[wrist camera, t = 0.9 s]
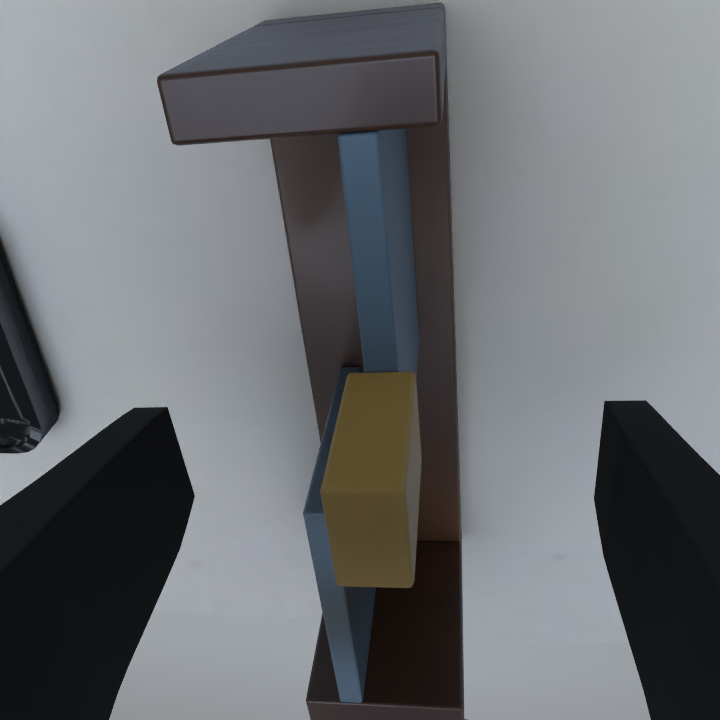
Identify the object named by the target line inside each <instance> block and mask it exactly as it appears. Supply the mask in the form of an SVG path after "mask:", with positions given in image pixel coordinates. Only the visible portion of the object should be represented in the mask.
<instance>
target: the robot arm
mask: <svg viewBox="0 0 720 720" xmlns="http://www.w3.org/2000/svg"><path fill="white" fill-rule="evenodd" d="M194 497H195V495H194V492H193V489H192V486H191V482H190V479H189V476H188V473H187V469H186V466H185V463H184V460H183V456H182V453H181V450H180V446H179V443H178V440H177V437H176V433H175V430H174V427H173V424H172V420H171V417H170V414H169V411H168V407H155V408H133V409H132V410H130V411H129V412H127V413H126V414H124V415H123V416H121V417H120V418H118V419H117V420H116V421H114V422H113V423H111V424H110V425H109V426H107V427H106V428H105V429H103V430H102V431H101V432H99V433H98V434H97V435H95V436H94V437H93V438H91V439H90V440H89V441H87V442H86V443H85V444H84V445H82V446H81V447H80V448H78V449H77V450H76V451H74V452H73V453H72V454H70V455H69V456H68V457H66V458H65V459H64V460H62V461H61V462H60V463H58V464H57V465H56V466H54V467H53V468H52V469H50V470H49V471H48V472H46V473H45V474H44V475H42V476H41V477H40V478H38V479H37V480H36V481H34V482H33V483H32V484H30V485H29V486H27V487H26V488H25V489H23V490H22V491H20V492H19V493H17V494H16V495H15V496H13V497H12V498H10V499H9V500H7V501H6V502H5V503H3V504H2V505H0V720H109V718H110V715H111V712H112V709H113V705H114V703H115V700H116V697H117V694H118V691H119V689H120V686H121V683H122V681H123V678H124V676H125V673H126V670H127V668H128V666H129V664H130V661H131V659H132V657H133V654H134V652H135V650H136V648H137V646H138V643H139V641H140V639H141V637H142V634H143V632H144V630H145V627H146V625H147V623H148V621H149V619H150V616H151V614H152V612H153V610H154V607H155V605H156V603H157V601H158V598H159V596H160V594H161V592H162V589H163V587H164V585H165V582H166V580H167V578H168V575H169V573H170V571H171V568H172V566H173V564H174V562H175V559H176V557H177V554H178V552H179V550H180V547H181V543H182V540H183V537H184V533H185V530H186V527H187V523H188V519H189V516H190V512H191V508H192V504H193V501H194ZM594 501H595V507H596V514H597V520H598V526H599V532H600V538H601V544H602V549H603V555H604V559H605V563H606V566H607V570H608V573H609V576H610V580H611V583H612V587H613V590H614V593H615V597H616V600H617V604H618V607H619V610H620V614H621V617H622V620H623V624H624V627H625V630H626V634H627V637H628V640H629V643H630V647H631V650H632V653H633V657H634V660H635V663H636V667H637V670H638V673H639V676H640V680H641V683H642V687H643V690H644V694H645V697H646V702H647V706H648V709H649V714H650V718H651V720H720V475H719V474H718V473H717V472H716V471H715V470H714V469H713V468H712V467H711V466H710V465H709V464H708V463H707V462H706V461H705V460H704V459H703V458H702V457H701V456H700V455H699V454H698V453H697V452H696V451H695V450H694V449H693V448H692V447H691V446H690V445H689V444H688V443H687V442H686V441H685V440H684V439H683V438H682V437H681V436H680V435H679V434H678V433H677V432H676V431H675V430H674V429H673V428H672V427H671V426H670V425H669V424H668V423H667V421H666V420H665V419H664V418H663V417H662V416H661V415H660V414H659V413H658V412H657V411H656V410H655V409H654V408H653V407H652V406H651V405H650V404H649V403H648V402H647V401H605V402H604V411H603V420H602V430H601V439H600V448H599V458H598V467H597V476H596V486H595V495H594Z"/></svg>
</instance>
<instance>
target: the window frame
mask: <svg viewBox="0 0 720 720" xmlns="http://www.w3.org/2000/svg"><path fill="white" fill-rule="evenodd" d="M157 84H158V88H159V92H160V96H161V100H162V104H163V108H164V113H165V117H166V121H167V125H168V129H169V133H170V137H171V141H172V143H173V144H175V145H191V144H204V143H218V142H231V141H245V140H258V139H270V141H271V147H272V153H273V159H274V165H275V171H276V177H277V183H278V189H279V195H280V201H281V207H282V213H283V219H284V225H285V231H286V237H287V243H288V249H289V255H290V261H291V267H292V273H293V280H294V286H295V292H296V298H297V304H298V310H299V316H300V322H301V328H302V334H303V340H304V346H305V352H306V358H307V364H308V370H309V376H310V382H311V388H312V394H313V400H314V406H315V412H316V418H317V424H318V430H319V436H320V442H321V445H320V449H319V453H318V457H317V461H316V465H315V468H314V472H313V476H312V480H311V484H310V488H309V492H308V496H307V500H306V504H305V508H304V512H303V515H304V520H305V525H306V530H307V535H308V540H309V545H310V550H311V555H312V560H313V566H314V571H315V576H316V581H317V586H318V591H319V596H320V601H321V606H322V611H323V613H322V618H321V624H320V629H319V634H318V640H317V645H316V650H315V655H314V661H313V666H312V671H311V676H310V682H309V687H308V692H307V698H306V702H307V706H308V710H309V715H310V719H311V720H464V671H463V596H462V532H461V500H460V468H459V436H458V404H457V372H456V340H455V308H454V277H453V245H452V213H451V181H450V149H449V117H448V85H447V53H446V21H445V6H444V4H442V3H435V4H425V5H415V6H405V7H395V8H385V9H375V10H365V11H356V12H346V13H336V14H326V15H316V16H306V17H296V18H286V19H277V20H267V21H263V22H261V23H259V24H257V25H255V26H254V27H252V28H250V29H248V30H246V31H244V32H242V33H240V34H238V35H236V36H234V37H232V38H230V39H228V40H226V41H224V42H223V43H221V44H219V45H217V46H215V47H213V48H211V49H209V50H207V51H205V52H203V53H201V54H199V55H197V56H195V57H194V58H192V59H190V60H188V61H186V62H184V63H182V64H180V65H178V66H176V67H174V68H172V69H170V70H168V71H166V72H164V73H163V74H161V75H159V76H158V77H157ZM392 129H406V135H407V151H408V166H409V182H410V198H411V214H412V230H413V246H414V261H415V277H416V293H417V309H418V325H419V351H418V363H417V375H416V384H417V399H418V413H419V428H420V442H421V457H422V461H421V478H420V495H419V512H418V528H417V545H416V562H415V579H414V584H413V586H412V587H410V588H389V587H351V586H339V585H338V584H337V583H336V579H335V573H334V568H333V562H332V556H331V550H330V545H329V539H328V533H327V528H326V522H325V516H324V510H323V505H322V499H321V493H320V489H321V485H322V481H323V476H324V472H325V468H326V464H327V459H328V455H329V451H330V447H331V442H332V438H333V434H334V430H335V425H336V421H337V417H338V413H339V408H340V404H341V400H342V396H343V391H344V387H345V383H346V379H347V376H348V374H350V373H365V371H364V362H363V354H362V345H361V336H360V328H359V319H358V310H357V302H356V293H355V284H354V276H353V267H352V258H351V250H350V241H349V232H348V224H347V215H346V206H345V197H344V189H343V180H342V171H341V163H340V154H339V145H338V136H339V134H340V133H352V132H366V131H379V130H392Z"/></svg>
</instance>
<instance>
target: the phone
mask: <svg viewBox="0 0 720 720" xmlns="http://www.w3.org/2000/svg"><path fill="white" fill-rule="evenodd" d="M58 415H59V409H58V404H57V401H56V398H55V395H54V392H53V390H52V387H51V384H50V381H49V379H48V376H47V373H46V371H45V368H44V365H43V362H42V360H41V357H40V354H39V351H38V349H37V346H36V343H35V341H34V338H33V335H32V332H31V330H30V327H29V324H28V321H27V319H26V316H25V313H24V311H23V308H22V305H21V302H20V300H19V297H18V294H17V292H16V289H15V286H14V283H13V281H12V278H11V275H10V272H9V270H8V267H7V264H6V262H5V259H4V256H3V253H2V251H1V248H0V453H25V452H28V451H30V450H33V449H35V448H36V446H37V445H38V444H39V443H40V441H41V440H42V439H43V438H44V436H45V435H46V434H47V433H48V431H49V430H50V429H51V428H52V426H53V425H54V424H55V423H56V421H57V419H58Z"/></svg>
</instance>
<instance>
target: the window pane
mask: <svg viewBox="0 0 720 720" xmlns="http://www.w3.org/2000/svg"><path fill="white" fill-rule="evenodd" d="M338 145H339V154H340V163H341V171H342V180H343V189H344V197H345V206H346V215H347V224H348V232H349V241H350V250H351V258H352V267H353V276H354V284H355V293H356V302H357V310H358V319H359V328H360V336H361V345H362V354H363V362H364V371H365V373H350V374H348V376H347V379H346V383H345V387H344V391H343V396H342V400H341V404H340V408H339V413H338V417H337V421H336V425H335V430H334V434H333V438H332V442H331V447H330V451H329V455H328V459H327V464H326V468H325V472H324V476H323V481H322V485H321V489H320V493H321V499H322V505H323V510H324V516H325V522H326V528H327V533H328V539H329V545H330V550H331V556H332V562H333V568H334V573H335V579H336V583H337V584H338V585H339V586H351V587H389V588H410V587H412V586H413V584H414V579H415V562H416V545H417V528H418V512H419V495H420V478H421V461H422V457H421V442H420V428H419V413H418V399H417V384H416V375H417V363H418V351H419V325H418V309H417V293H416V277H415V261H414V246H413V230H412V214H411V198H410V182H409V166H408V151H407V135H406V129H392V130H379V131H366V132H352V133H340V134H339V136H338Z"/></svg>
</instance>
